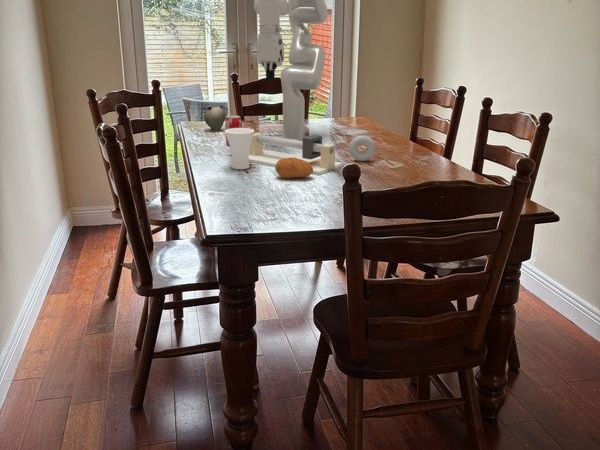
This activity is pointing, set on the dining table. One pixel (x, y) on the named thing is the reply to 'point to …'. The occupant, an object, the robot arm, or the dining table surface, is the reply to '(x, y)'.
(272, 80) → the robot arm
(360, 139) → the donut
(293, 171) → the potato
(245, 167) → the cup
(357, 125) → the dining table surface
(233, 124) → the soda can
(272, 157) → the pipe stand
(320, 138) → the collar
